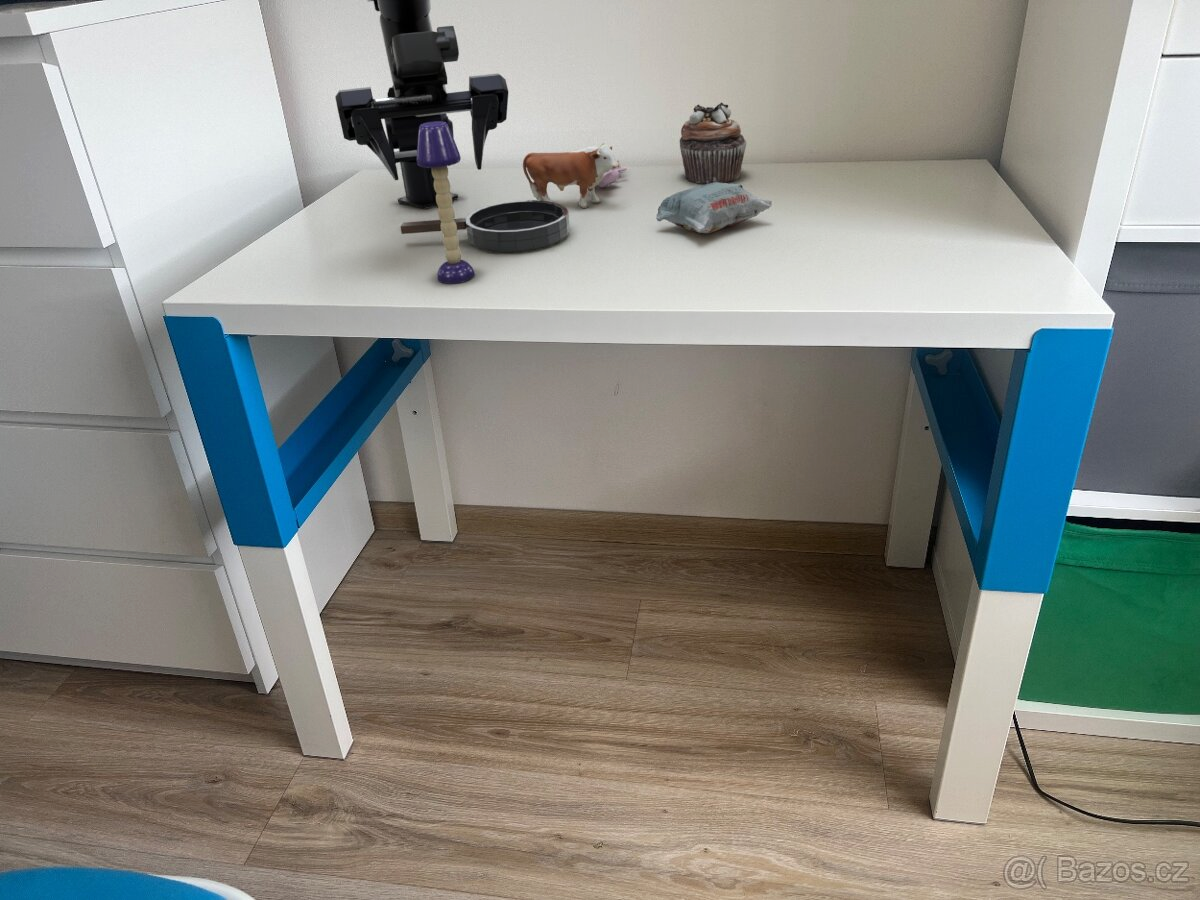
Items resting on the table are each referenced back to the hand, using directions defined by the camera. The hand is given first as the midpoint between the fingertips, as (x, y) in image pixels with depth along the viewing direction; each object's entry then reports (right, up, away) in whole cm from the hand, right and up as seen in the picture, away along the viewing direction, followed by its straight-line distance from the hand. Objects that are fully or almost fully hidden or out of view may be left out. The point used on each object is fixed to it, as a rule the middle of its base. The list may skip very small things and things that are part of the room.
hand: (438, 172), depth 96 cm
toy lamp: (+2, -11, +3) cm, 12 cm away
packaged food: (+32, -3, +13) cm, 35 cm away
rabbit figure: (+18, +8, +32) cm, 38 cm away
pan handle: (-3, -3, +13) cm, 13 cm away
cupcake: (+34, +9, +32) cm, 48 cm away
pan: (+8, -4, +14) cm, 16 cm away
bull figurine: (+14, +3, +24) cm, 28 cm away
